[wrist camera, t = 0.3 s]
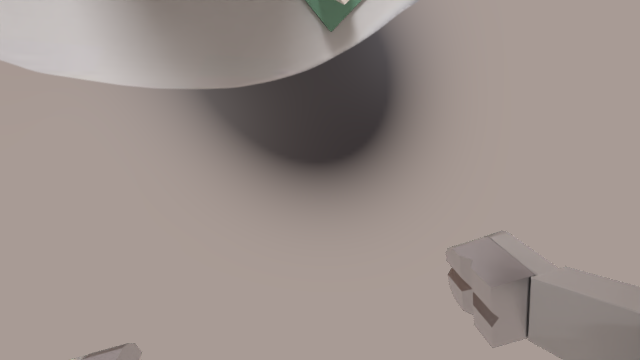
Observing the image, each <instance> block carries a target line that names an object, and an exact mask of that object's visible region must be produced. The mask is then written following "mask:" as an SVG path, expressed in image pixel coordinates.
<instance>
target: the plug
mask: <svg viewBox="0 0 640 360" xmlns="http://www.w3.org/2000/svg"><path fill="white" fill-rule="evenodd" d="M336 1H338V2H340V3H342V4H344V5H345V4H346V3H347V2H348V1H349V0H336Z"/></svg>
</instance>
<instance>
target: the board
mask: <svg viewBox="0 0 640 360" xmlns="http://www.w3.org/2000/svg"><path fill="white" fill-rule="evenodd" d="M305 1H306V2H307V3H308V4H309V6H310V7H311V8H312V9H313V11H314V12H315V13H316V14H317V16H318V17H319V18H320V19H321V21H322V22H323V23H324V24H325V26H326V27H327V28H328V29H329V31H331V32H332V31H333V30H334V29H335V27H336V26H337V25H338V24H339V23H340V22H341V21H342V20H343V19H344V18H345V17H346V16H347V15H348V14H349V13H350V12H351V11H352V10H353V9H354V8H355V7H356V6H357V4H358V3H359V2H360V1H361V0H349V1H348V2H347V3H346V4H345V5H344V4H342V3H340V2H338V1H336V0H305Z"/></svg>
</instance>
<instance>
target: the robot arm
mask: <svg viewBox="0 0 640 360" xmlns="http://www.w3.org/2000/svg"><path fill="white" fill-rule="evenodd" d="M446 260H447V262H448V263H449V264H450V265H451V267H452V268H451V270H450V271H449V273H448V279H449V285H450V288H451V291H452V294H453V296H454V298H455V299H456V301H457V303H458V304H459V305H460V307H461V308H462V309H463V311H466V312H468V313H470V314H472V315H474V325H475V326H476V328H477V329H478V330H479V332H480V333H481V334H482V335H483V336H484V338H485V339H486V340H487V342H488V343H489V344H490V346H491V347H492V348H495V347H498V346H502V345H506V344H509V343H512V342H516V341H520V340H523V339H527V338H528V340H529V341H530V342H532V343H534V344H536V345H537V346H539V347H541V348H543V349H545V350H547V351H548V352H550V353H552V354H554V355H555V356H557V357H559V358H561V359H563V360H640V287H639V286H635V285H631V284H628V283H624V282H620V281H617V280H613V279H609V278H606V277H602V276H598V275H595V274H591V273H587V272H584V271H580V270H576V269H572V268H569V267H563V268H558V267H557V266H555V265H554V264H553V263H551V262H550V261H548V260H547V259H545V258H544V257H543V256H541V255H540V254H538V253H537V252H535V251H534V250H533V249H531V248H530V247H529V246H527V245H526V244H524V243H523V242H522V241H520V240H519V239H517V238H516V237H514V236H513V235H512V234H510V233H509V232H506V231H500V232H496V233H493V234H490V235H487V236H484V237H482V238H478V239H475V240H472V241H469V242H466V243H463V244H459V245H456V246H452V247H449V248H447V251H446ZM141 354H142V352H141V350H140V349H139V348H138V346H137V345H136V344H135V343H127V344H124V345H120V346H116V347H113V348H109V349H105V350H102V351H98V352H94V353H91V354H88V355H85V356H81V357H78V358H74V359H70V360H140V358H141Z"/></svg>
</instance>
